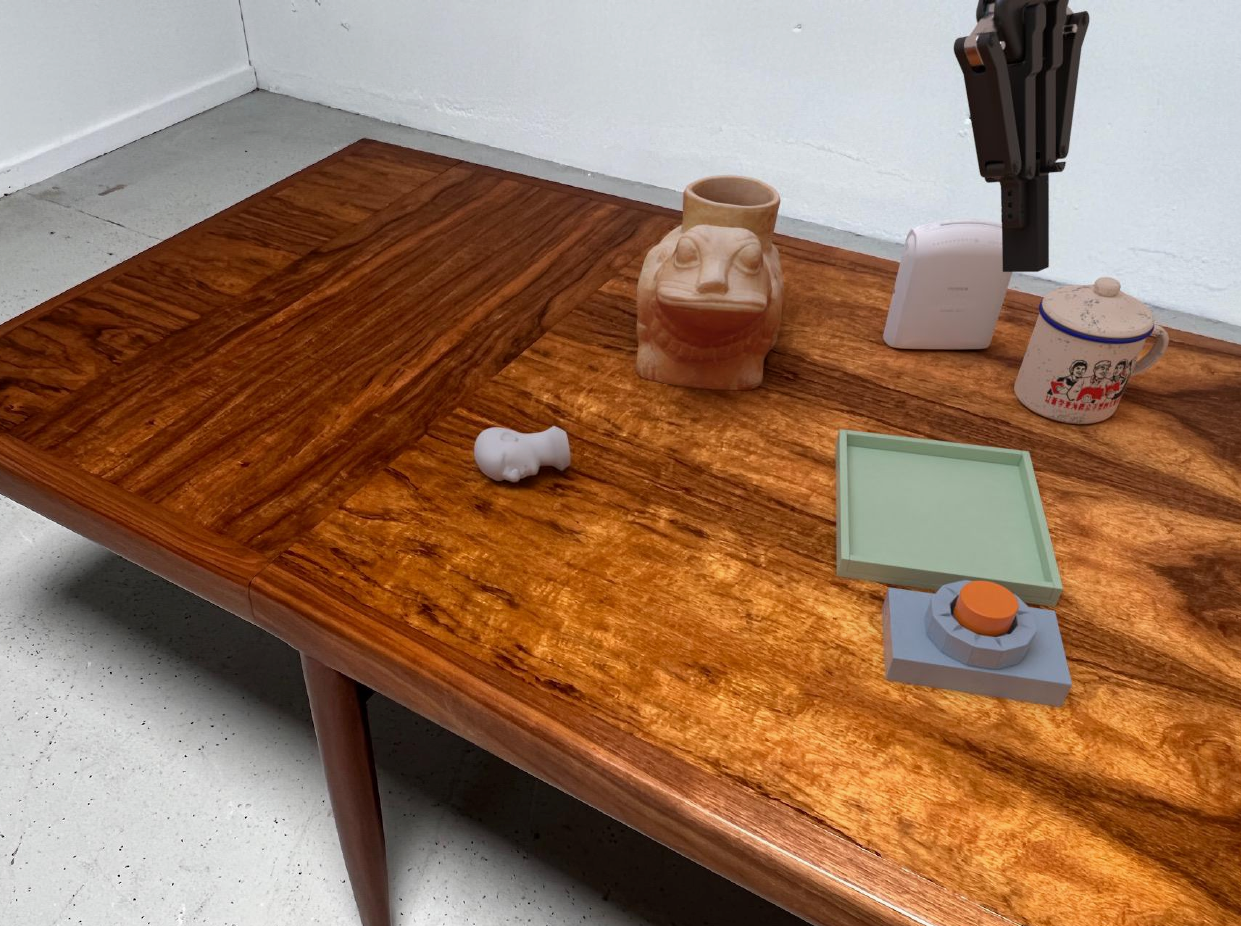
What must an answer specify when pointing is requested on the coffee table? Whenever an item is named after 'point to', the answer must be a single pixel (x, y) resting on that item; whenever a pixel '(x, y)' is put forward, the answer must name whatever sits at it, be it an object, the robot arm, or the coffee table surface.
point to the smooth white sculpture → (520, 452)
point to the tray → (941, 516)
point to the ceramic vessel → (713, 289)
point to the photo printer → (948, 286)
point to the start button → (986, 608)
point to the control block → (973, 649)
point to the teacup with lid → (1086, 352)
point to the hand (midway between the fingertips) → (1025, 269)
